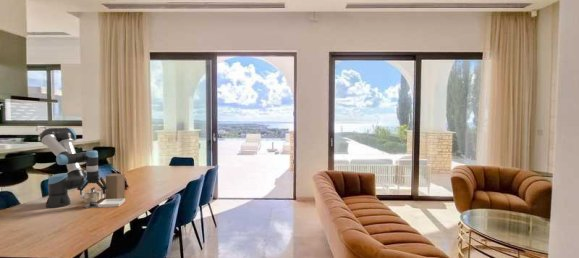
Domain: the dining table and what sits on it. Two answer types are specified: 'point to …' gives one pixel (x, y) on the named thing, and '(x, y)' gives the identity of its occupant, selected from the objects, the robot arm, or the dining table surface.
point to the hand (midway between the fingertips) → (92, 198)
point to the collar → (93, 196)
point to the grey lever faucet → (91, 204)
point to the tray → (111, 202)
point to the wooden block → (115, 186)
